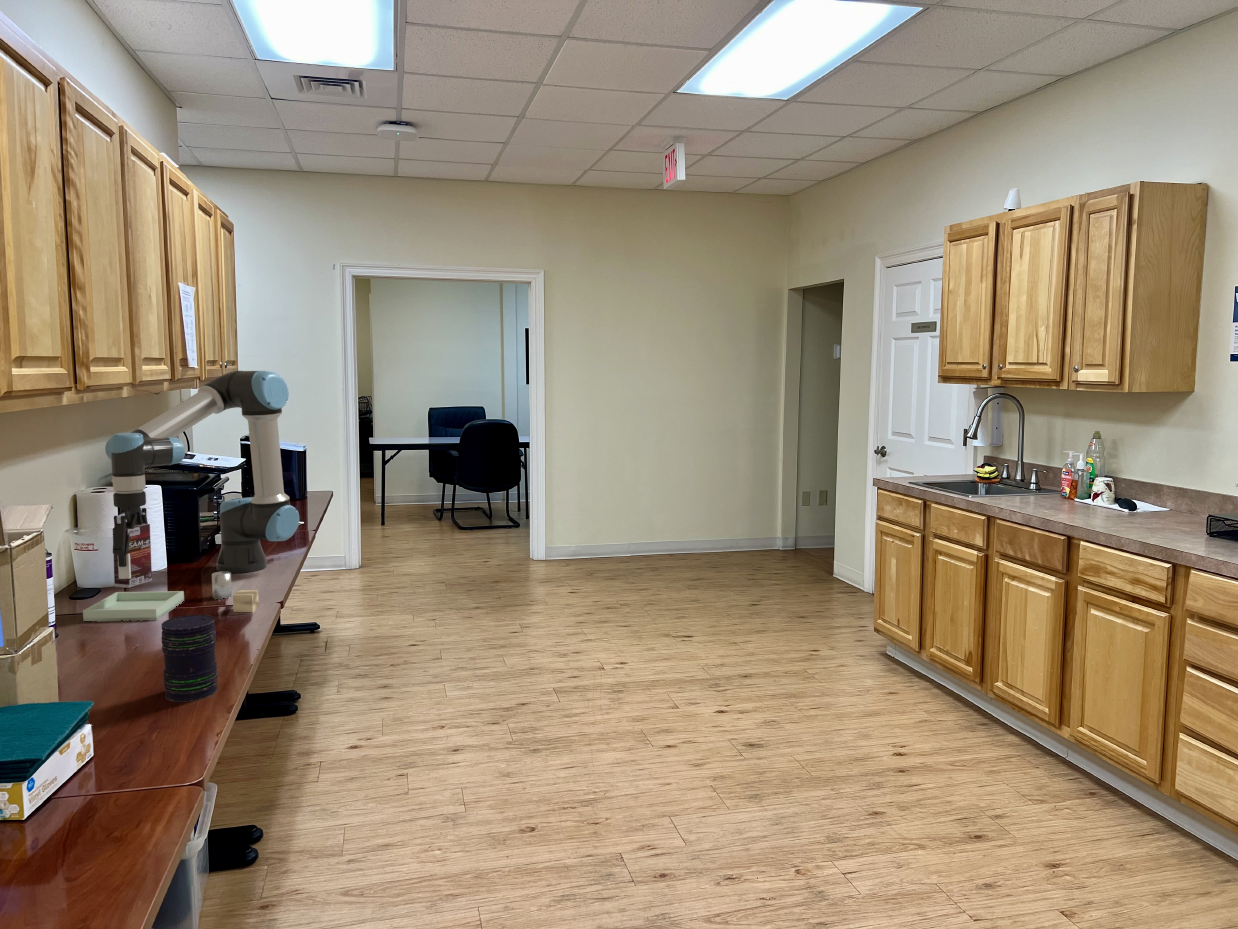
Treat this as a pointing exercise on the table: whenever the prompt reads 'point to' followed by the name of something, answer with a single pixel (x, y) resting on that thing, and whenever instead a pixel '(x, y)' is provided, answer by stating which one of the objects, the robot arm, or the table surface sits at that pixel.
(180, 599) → the sage tray
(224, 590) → the metal cylinder
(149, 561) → the supplement box
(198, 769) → the table surface
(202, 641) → the storage jar
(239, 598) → the maple block
